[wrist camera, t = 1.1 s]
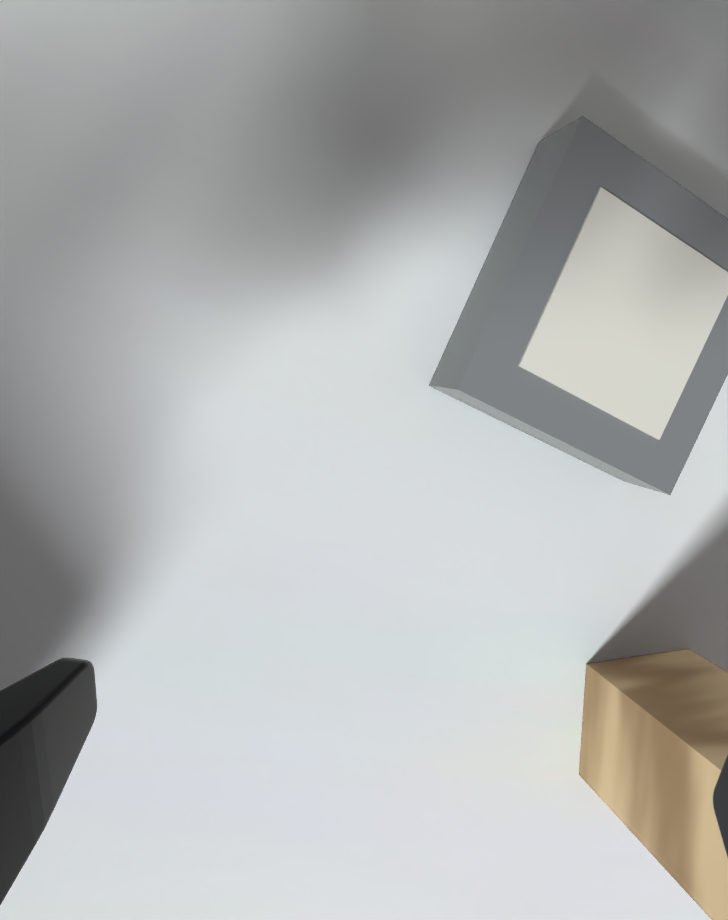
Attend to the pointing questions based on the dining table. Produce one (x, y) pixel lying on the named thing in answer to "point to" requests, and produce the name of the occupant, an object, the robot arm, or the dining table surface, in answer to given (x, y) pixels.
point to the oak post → (662, 761)
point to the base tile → (598, 311)
